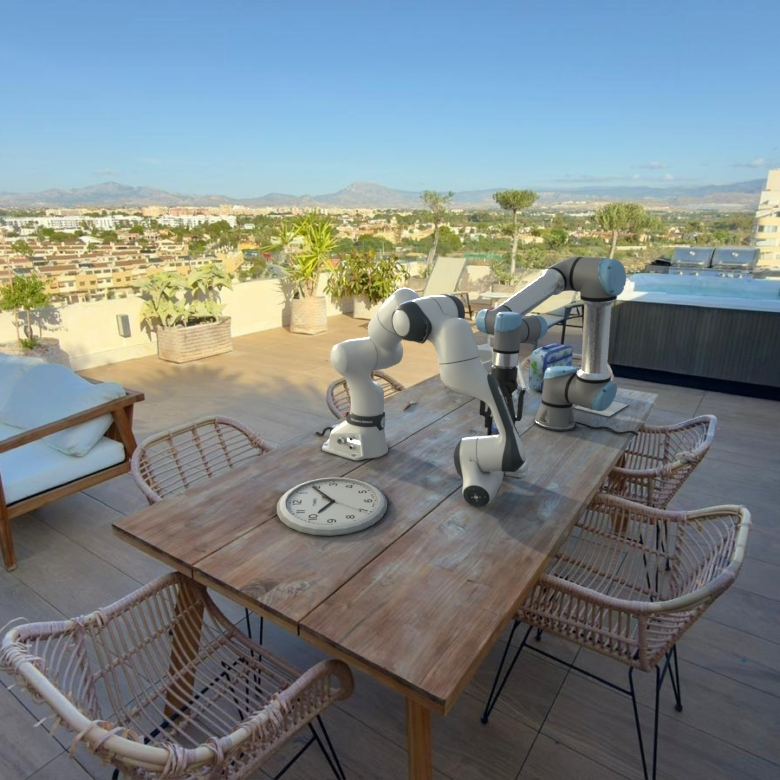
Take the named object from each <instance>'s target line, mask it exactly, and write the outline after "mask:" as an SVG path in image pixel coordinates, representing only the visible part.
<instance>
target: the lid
mask: <svg viewBox="0 0 780 780" xmlns="http://www.w3.org/2000/svg"><path fill="white" fill-rule="evenodd" d="M491 432H493V433H495V434H499V431H498V428H497V426H496V423H495V422H493V423H492V425H491Z"/></svg>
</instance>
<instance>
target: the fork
mask: <svg viewBox="0 0 780 780" xmlns="http://www.w3.org/2000/svg"><path fill="white" fill-rule="evenodd" d="M418 398H419V396H415V395H413V396H412V398H411V399H410V402H409V403H408V404H407V405H406V406H405V407H404V409H403V411H406V410H407V409H409V408H410V407H411V405H413V404H416V403H417V402H418Z"/></svg>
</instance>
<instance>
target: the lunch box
mask: <svg viewBox="0 0 780 780" xmlns="http://www.w3.org/2000/svg"><path fill="white" fill-rule="evenodd" d="M573 356H574V355H573V347H572V346H571V345H566V344H560V343H551V344H548V345H544V346H541V347H538V348H536V349H534V350H533V351H532V353H531V355H530V359H529V370H528V371H529V372H528V389H531V390H536V391H541V392H542V391H543V381H544V380H543V378H544V374H545V371H546V369H547V368H550V367H554V366H572V365H573V363H572V362H573Z"/></svg>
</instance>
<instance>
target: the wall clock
mask: <svg viewBox="0 0 780 780" xmlns="http://www.w3.org/2000/svg"><path fill="white" fill-rule="evenodd" d="M387 509H388V500H387V498H386V496H385V494H384V493H383V492H382V491H381V490H380V489H379V488H377V487H376V486H374V485H372V484H371V483H369V482H365V481H362V480H359V479H355V478H349V477H338V476H337V477H335V476H333V477H332V476H331V477H322V478H317V479H312V480H307V481H305V482H302V483H299V484H297V485H295V486H293V487H292V488H290V489H288V490H287V491H286V492H285V493H284V494H283V495H281V496H280V498H279V499H278V502H277V503H276V515H277V517H278V518H279V520H280V521H281V522H282V523H283V524H285V525H286V526H287V527H288V528H290V529H293V530H295V531H297V532H299V533H303V534H308V535H312V536H327V537H328V536H329V537H331V536H332V537H333V536H342V535H350V534H352V533H356V532H361V531H363V530H366V529H368V528H369V527H372V526H373V525H375V524H376V523H378V522H379V521H380V520H381V519H382V518H383V517H384V516H385V514H386V512H387Z"/></svg>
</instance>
